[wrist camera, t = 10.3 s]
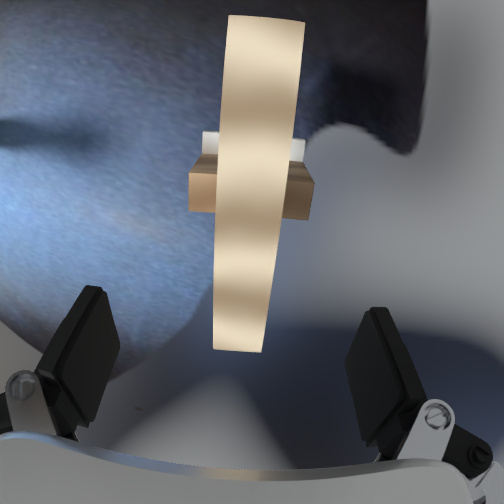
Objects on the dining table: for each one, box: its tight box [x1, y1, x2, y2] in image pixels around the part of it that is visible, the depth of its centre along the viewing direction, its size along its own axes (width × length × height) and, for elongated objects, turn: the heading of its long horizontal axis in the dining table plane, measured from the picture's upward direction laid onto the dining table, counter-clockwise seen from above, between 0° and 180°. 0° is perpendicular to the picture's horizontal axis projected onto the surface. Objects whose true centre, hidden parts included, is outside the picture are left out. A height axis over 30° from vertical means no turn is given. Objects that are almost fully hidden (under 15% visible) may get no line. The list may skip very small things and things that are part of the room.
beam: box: [213, 15, 305, 352], centre depth 21 cm, size 24×4×4 cm, turn 175°
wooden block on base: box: [189, 131, 315, 220], centre depth 25 cm, size 7×9×7 cm
